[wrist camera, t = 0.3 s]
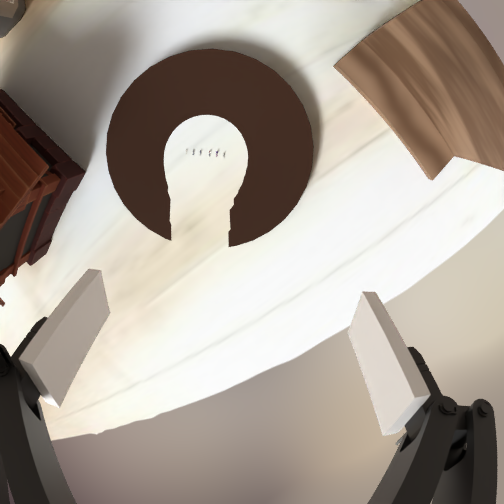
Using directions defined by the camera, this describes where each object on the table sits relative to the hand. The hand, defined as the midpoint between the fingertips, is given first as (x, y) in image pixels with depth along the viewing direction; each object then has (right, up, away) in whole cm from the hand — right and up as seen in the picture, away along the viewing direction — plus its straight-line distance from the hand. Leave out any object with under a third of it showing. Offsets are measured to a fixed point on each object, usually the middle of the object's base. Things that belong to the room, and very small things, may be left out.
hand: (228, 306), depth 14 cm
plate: (-5, +16, +23) cm, 29 cm away
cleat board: (+26, +26, +18) cm, 40 cm away
